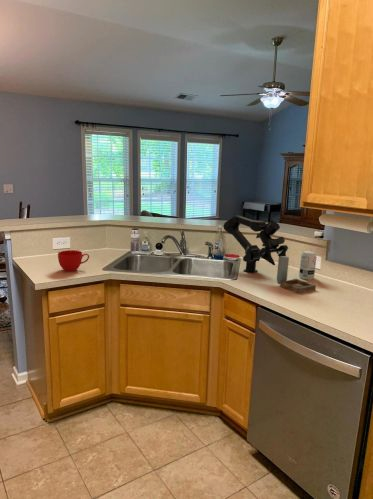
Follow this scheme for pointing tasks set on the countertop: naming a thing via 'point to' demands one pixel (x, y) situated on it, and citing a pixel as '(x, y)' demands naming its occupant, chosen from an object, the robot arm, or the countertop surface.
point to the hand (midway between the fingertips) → (280, 264)
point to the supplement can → (307, 265)
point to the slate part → (282, 269)
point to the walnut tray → (298, 286)
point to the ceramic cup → (71, 260)
